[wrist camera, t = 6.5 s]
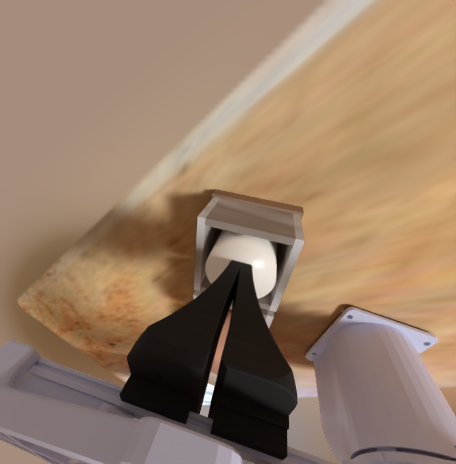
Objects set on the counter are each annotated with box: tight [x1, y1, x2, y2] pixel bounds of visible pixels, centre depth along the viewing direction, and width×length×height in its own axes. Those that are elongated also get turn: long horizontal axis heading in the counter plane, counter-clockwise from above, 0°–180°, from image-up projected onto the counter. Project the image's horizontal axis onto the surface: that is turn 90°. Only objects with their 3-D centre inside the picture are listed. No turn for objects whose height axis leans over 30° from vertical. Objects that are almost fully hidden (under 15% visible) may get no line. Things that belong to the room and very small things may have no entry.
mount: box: [193, 189, 305, 328], centre depth 19 cm, size 21×7×4 cm, turn 173°
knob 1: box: [205, 230, 277, 299], centre depth 14 cm, size 5×5×4 cm
